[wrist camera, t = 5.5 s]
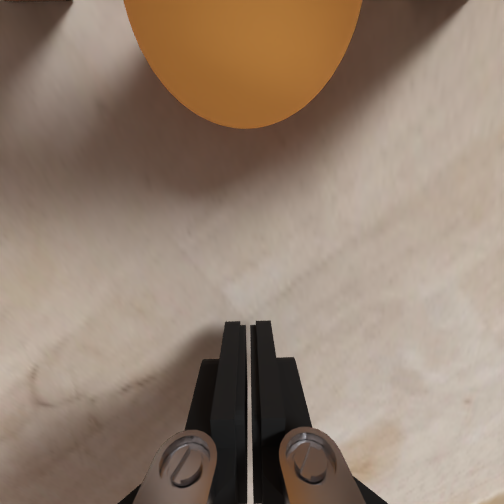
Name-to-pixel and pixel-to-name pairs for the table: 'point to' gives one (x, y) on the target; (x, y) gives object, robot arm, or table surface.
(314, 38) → the ball
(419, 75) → the table surface
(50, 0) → the bridge
